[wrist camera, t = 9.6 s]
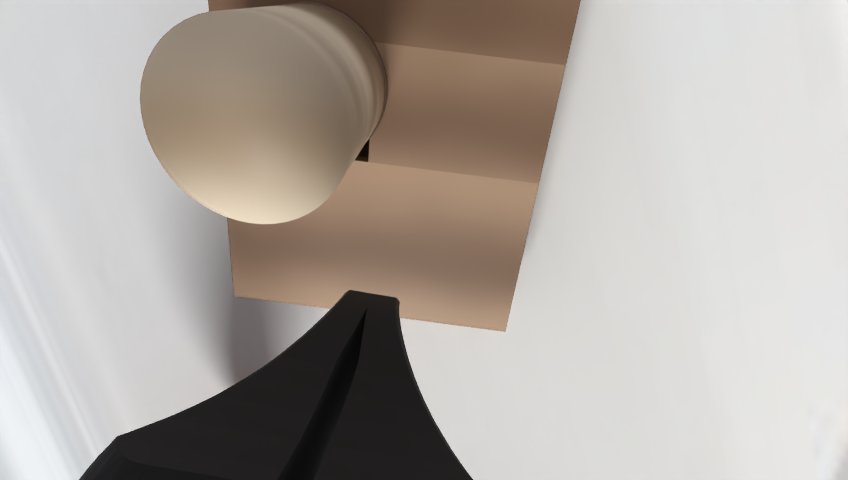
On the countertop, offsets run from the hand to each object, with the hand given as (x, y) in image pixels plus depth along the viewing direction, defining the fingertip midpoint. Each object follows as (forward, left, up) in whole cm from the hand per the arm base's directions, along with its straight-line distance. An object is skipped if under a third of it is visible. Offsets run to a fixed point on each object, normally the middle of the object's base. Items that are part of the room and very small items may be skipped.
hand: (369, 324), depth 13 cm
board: (-2, -1, -10) cm, 10 cm away
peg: (-4, -4, -10) cm, 11 cm away
